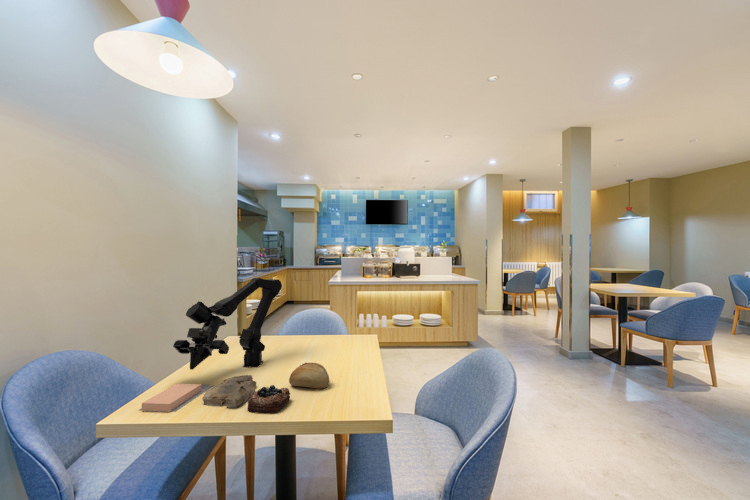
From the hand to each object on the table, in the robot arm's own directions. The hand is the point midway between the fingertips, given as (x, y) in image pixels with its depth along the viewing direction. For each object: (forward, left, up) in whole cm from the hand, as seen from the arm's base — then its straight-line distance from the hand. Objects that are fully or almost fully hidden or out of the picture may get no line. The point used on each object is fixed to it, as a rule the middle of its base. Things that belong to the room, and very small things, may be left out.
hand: (191, 369), depth 111 cm
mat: (+1, +5, -8) cm, 9 cm away
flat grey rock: (-16, +3, -8) cm, 19 cm away
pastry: (-31, +11, -8) cm, 34 cm away
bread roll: (-41, -4, -8) cm, 42 cm away
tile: (0, +1, -6) cm, 6 cm away
